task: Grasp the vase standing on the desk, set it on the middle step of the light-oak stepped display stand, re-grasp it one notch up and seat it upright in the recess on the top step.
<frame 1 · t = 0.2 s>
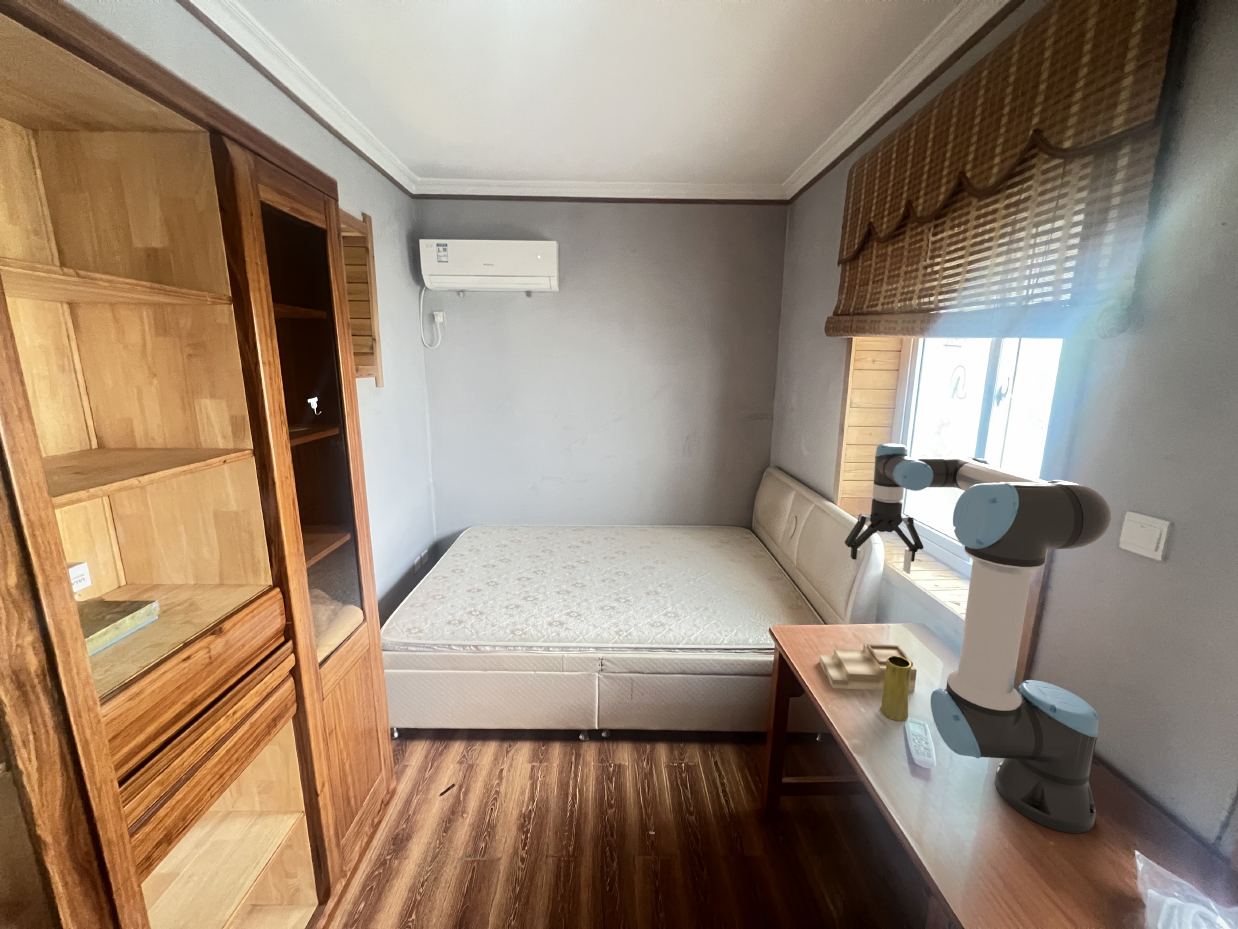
hand: (881, 570, 142), 28 cm above the table, fingers open, 13 cm apart
step stand: (864, 676, 139), on the table
vase: (893, 713, 124), on the table
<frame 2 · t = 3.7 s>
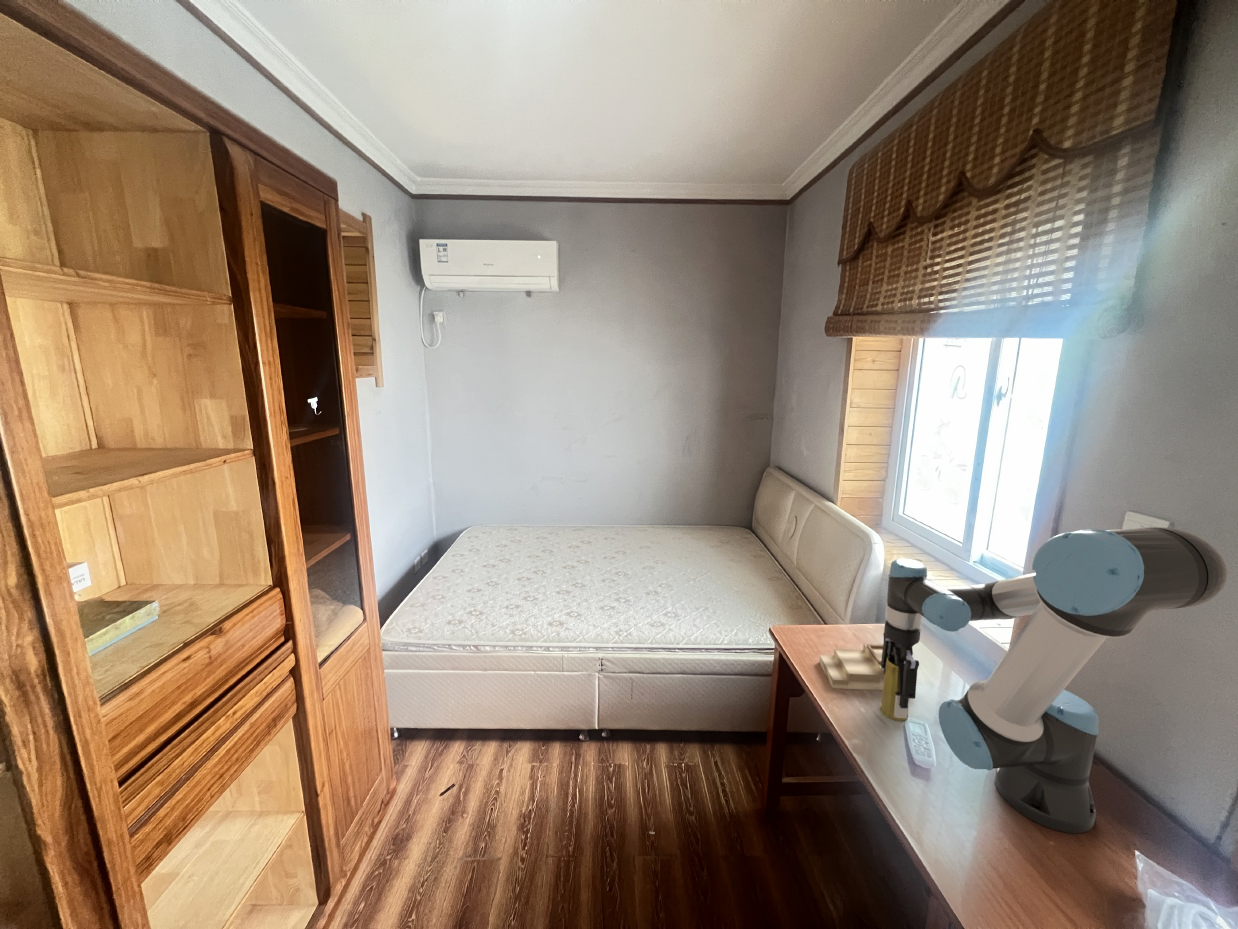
hand: (894, 708, 124), 1 cm above the table, fingers closed on vase, 6 cm apart
vase: (893, 713, 124), on the table, touching gripper
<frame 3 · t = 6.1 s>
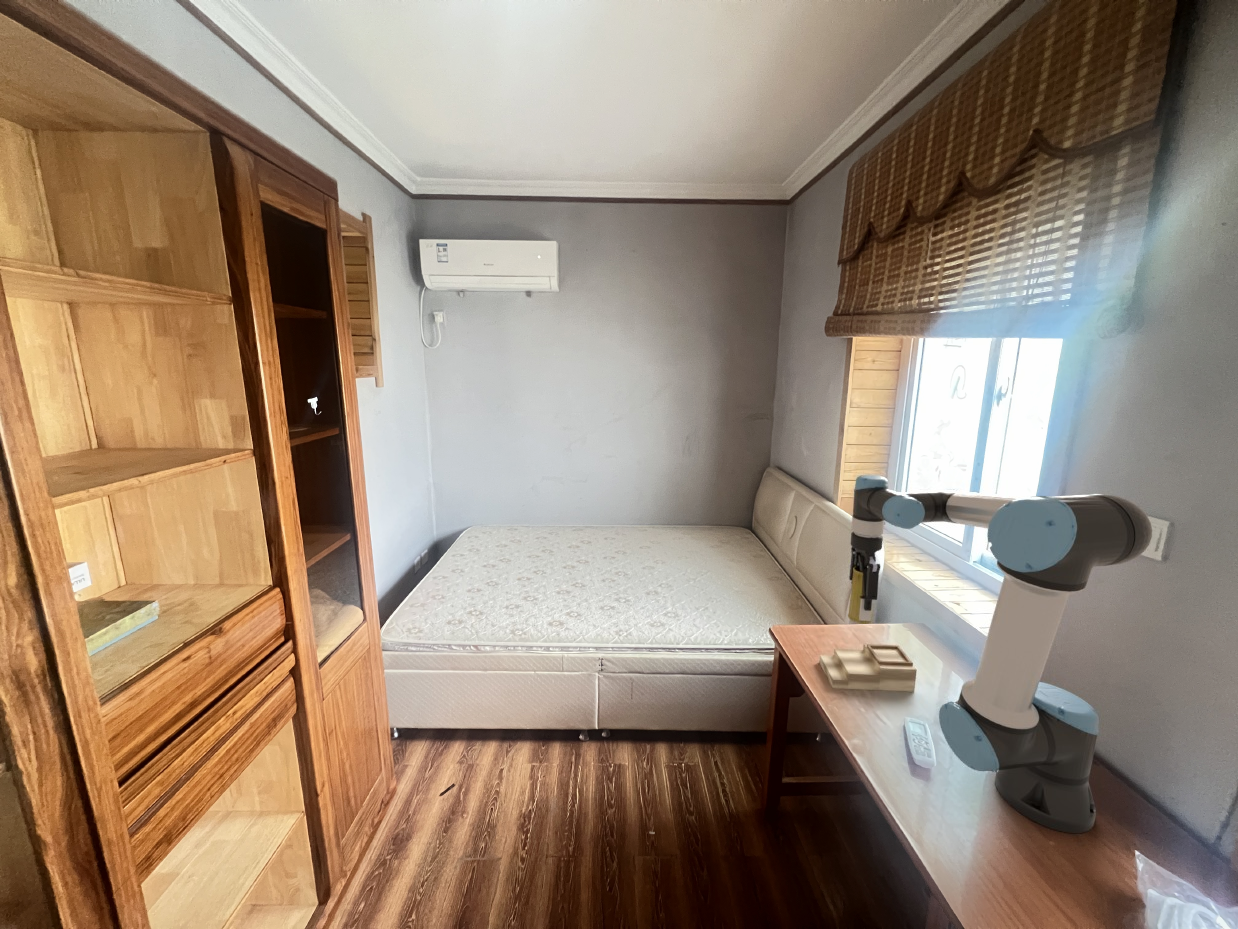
hand: (860, 614, 136), 19 cm above the table, fingers closed on vase, 6 cm apart
vase: (859, 619, 136), point 17 cm above the table, touching gripper
when the fingers open (7 cm above the table, at t = 8.5 s): vase drops 1 cm, resting on step stand.
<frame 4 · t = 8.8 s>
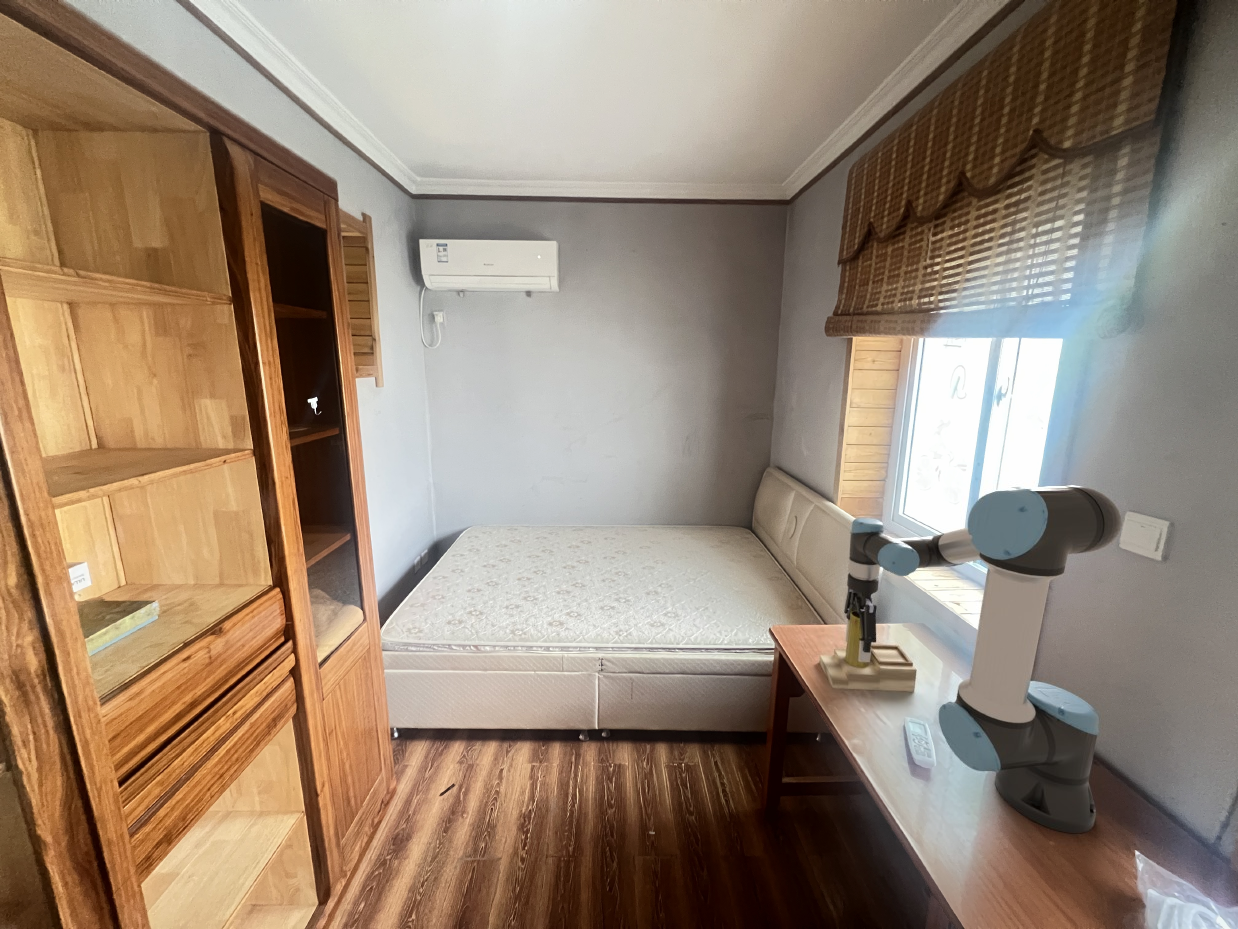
hand: (857, 651, 138), 8 cm above the table, fingers open, 9 cm apart
vase: (856, 662, 138), point 4 cm above the table, touching step stand
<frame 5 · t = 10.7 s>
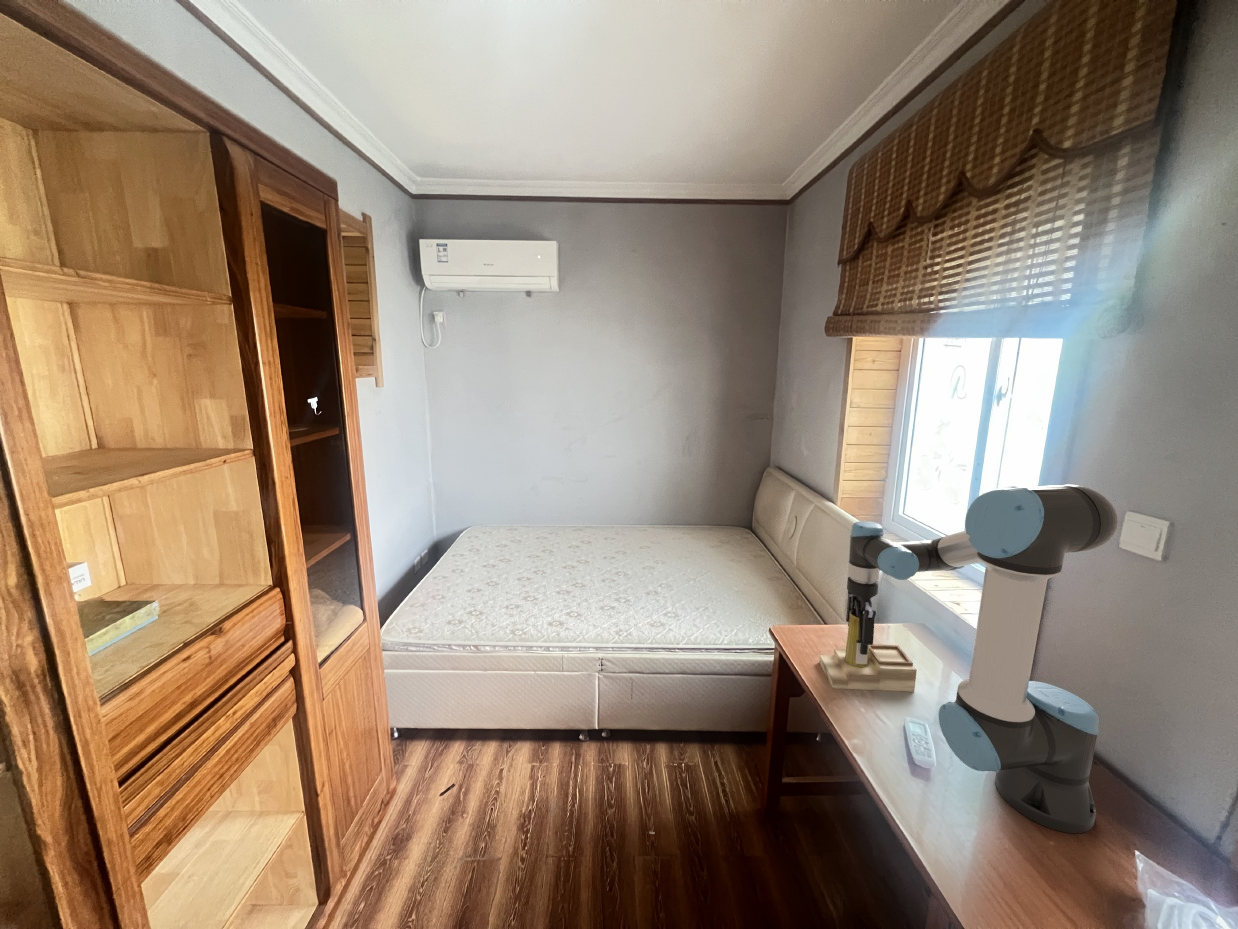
hand: (856, 656, 138), 6 cm above the table, fingers closed on vase, 6 cm apart
vase: (856, 662, 138), point 4 cm above the table, touching gripper, step stand
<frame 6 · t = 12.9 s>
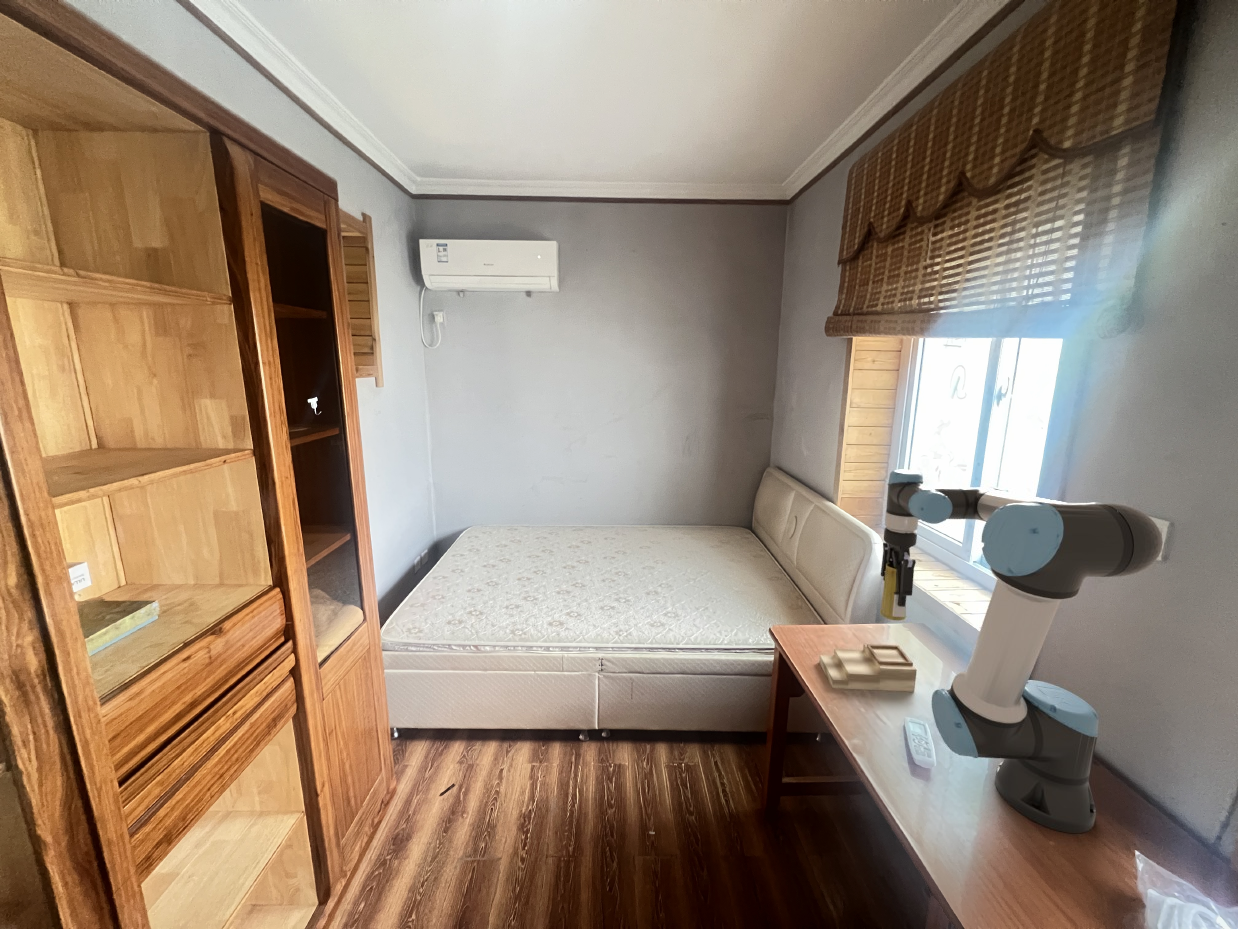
hand: (893, 610, 135), 20 cm above the table, fingers closed on vase, 6 cm apart
vase: (892, 616, 135), point 18 cm above the table, touching gripper
when the fingers open (9 cm above the table, at t = 15.1 s): vase drops 1 cm, resting on step stand.
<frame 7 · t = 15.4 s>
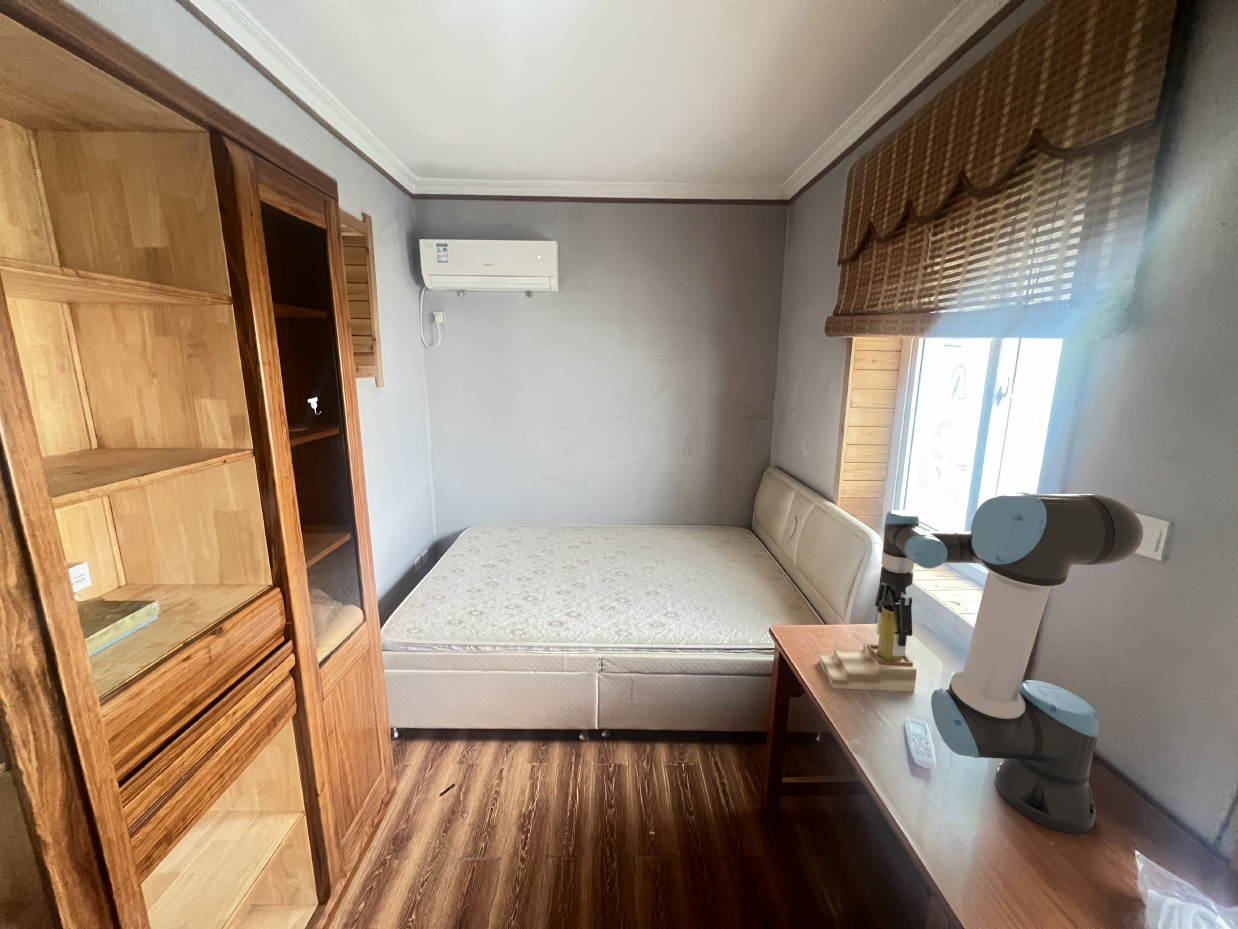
hand: (890, 644, 136), 10 cm above the table, fingers open, 10 cm apart
vase: (889, 656, 137), point 6 cm above the table, touching step stand
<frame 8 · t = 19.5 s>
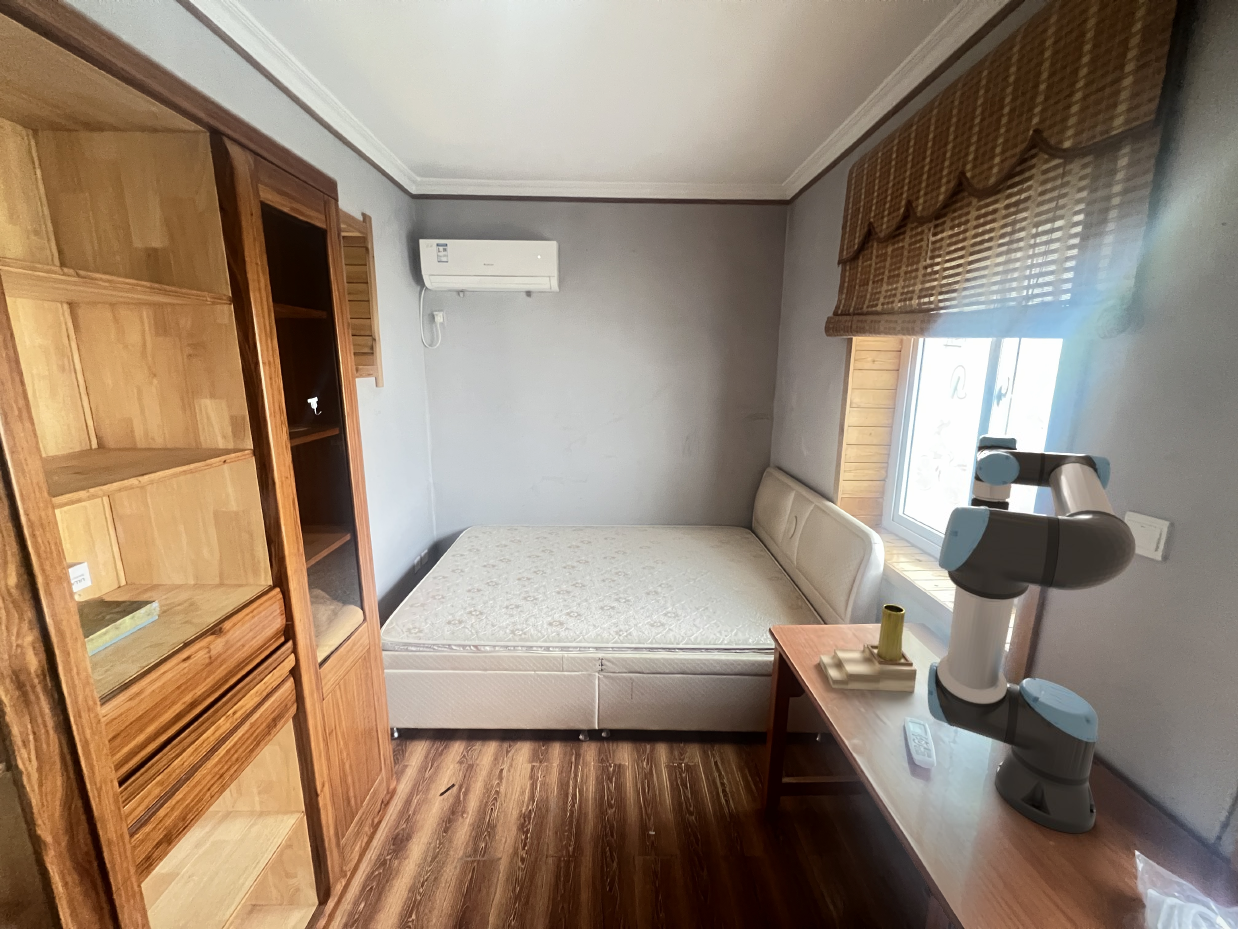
hand: (980, 578, 127), 32 cm above the table, fingers open, 13 cm apart
nothing on the table moved.
at the end: vase 0.1 cm from the target spot, point 6.3 cm above the table; vase tilted 0°; the gripper is holding nothing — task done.
